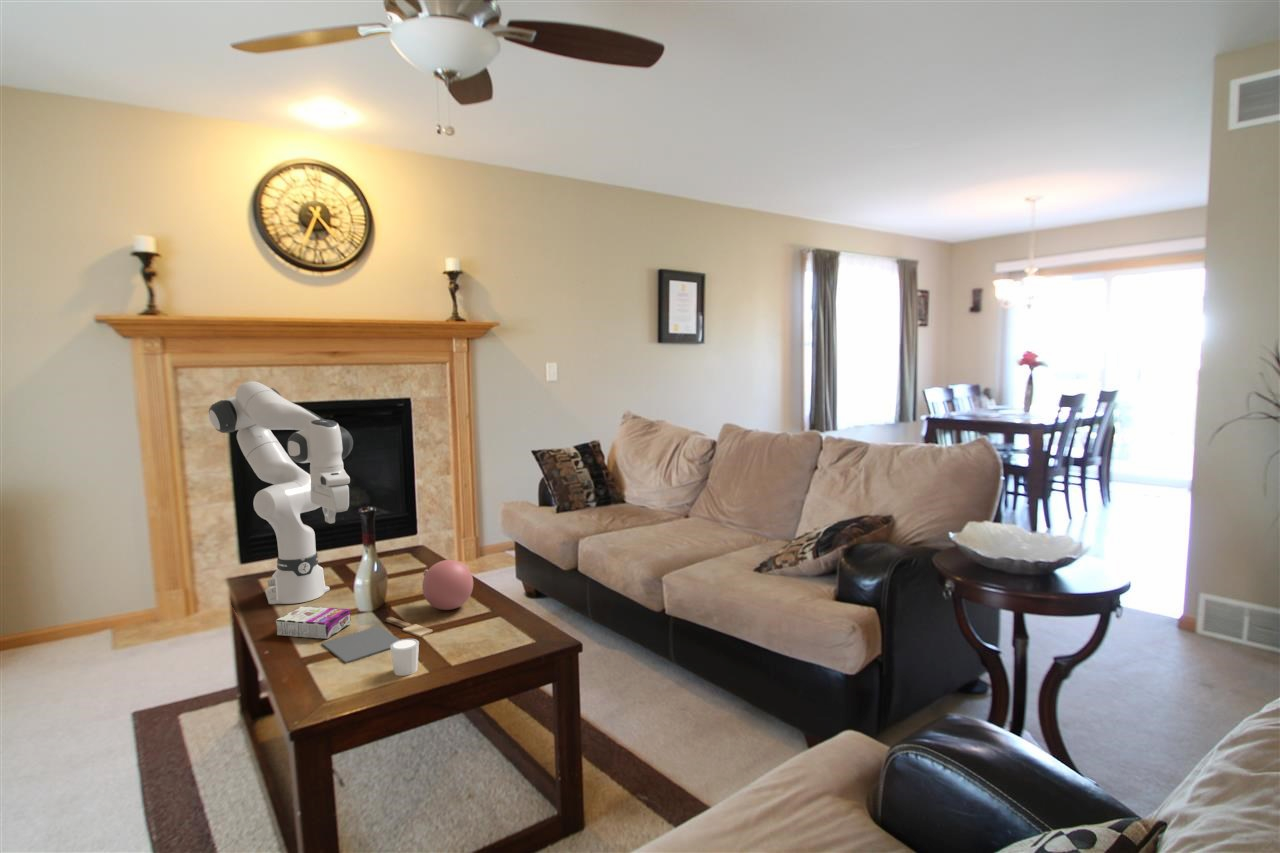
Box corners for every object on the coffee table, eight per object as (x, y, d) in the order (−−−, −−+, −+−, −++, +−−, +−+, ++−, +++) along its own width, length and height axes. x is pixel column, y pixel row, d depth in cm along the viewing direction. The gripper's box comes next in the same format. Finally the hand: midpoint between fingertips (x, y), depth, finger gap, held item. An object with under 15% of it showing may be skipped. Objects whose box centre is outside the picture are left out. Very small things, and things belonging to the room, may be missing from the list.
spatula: (382, 623, 197) (381, 619, 197) (395, 618, 200) (394, 615, 200) (420, 637, 187) (420, 634, 186) (433, 632, 190) (432, 628, 190)
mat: (321, 644, 182) (321, 642, 182) (378, 627, 194) (378, 625, 194) (346, 663, 170) (345, 661, 170) (405, 644, 182) (405, 642, 182)
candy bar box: (351, 625, 196) (303, 620, 199) (350, 608, 195) (302, 604, 199) (326, 640, 185) (275, 636, 188) (325, 623, 185) (274, 619, 188)
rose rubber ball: (451, 592, 222) (449, 548, 221) (483, 607, 208) (481, 560, 207) (407, 605, 211) (405, 558, 210) (438, 621, 197) (436, 571, 196)
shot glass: (395, 665, 169) (394, 638, 169) (423, 663, 170) (422, 637, 169) (387, 677, 163) (386, 650, 162) (416, 676, 163) (415, 649, 162)
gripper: (303, 473, 196) (306, 518, 198) (329, 481, 182) (332, 530, 183) (325, 470, 201) (328, 515, 202) (352, 478, 187) (355, 526, 188)
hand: (330, 522), depth 193 cm, fingers closed
